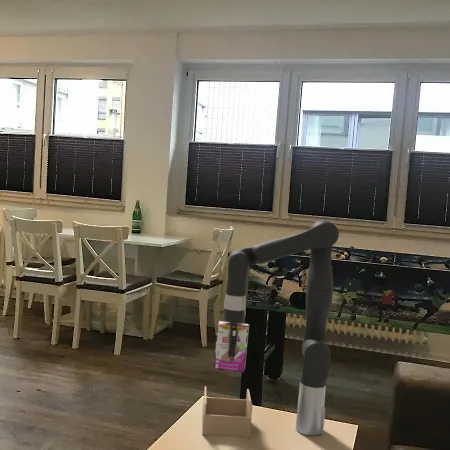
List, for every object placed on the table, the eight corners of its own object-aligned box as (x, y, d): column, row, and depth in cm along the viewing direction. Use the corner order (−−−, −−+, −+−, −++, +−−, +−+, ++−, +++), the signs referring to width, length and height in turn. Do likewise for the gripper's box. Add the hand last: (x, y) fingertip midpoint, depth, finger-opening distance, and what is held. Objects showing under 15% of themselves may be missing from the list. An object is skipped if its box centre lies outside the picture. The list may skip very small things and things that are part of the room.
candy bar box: (213, 369, 199) (216, 323, 198) (214, 365, 204) (218, 320, 203) (244, 372, 198) (248, 327, 197) (245, 368, 203) (249, 323, 202)
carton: (246, 418, 209) (248, 389, 208) (249, 437, 192) (252, 406, 192) (202, 415, 208) (204, 386, 207) (202, 434, 192) (204, 403, 191)
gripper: (247, 312, 193) (243, 361, 194) (243, 303, 207) (239, 348, 208) (225, 311, 192) (221, 359, 194) (223, 302, 207) (219, 347, 208)
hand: (230, 353), depth 201 cm, fingers closed on candy bar box, 5 cm apart
